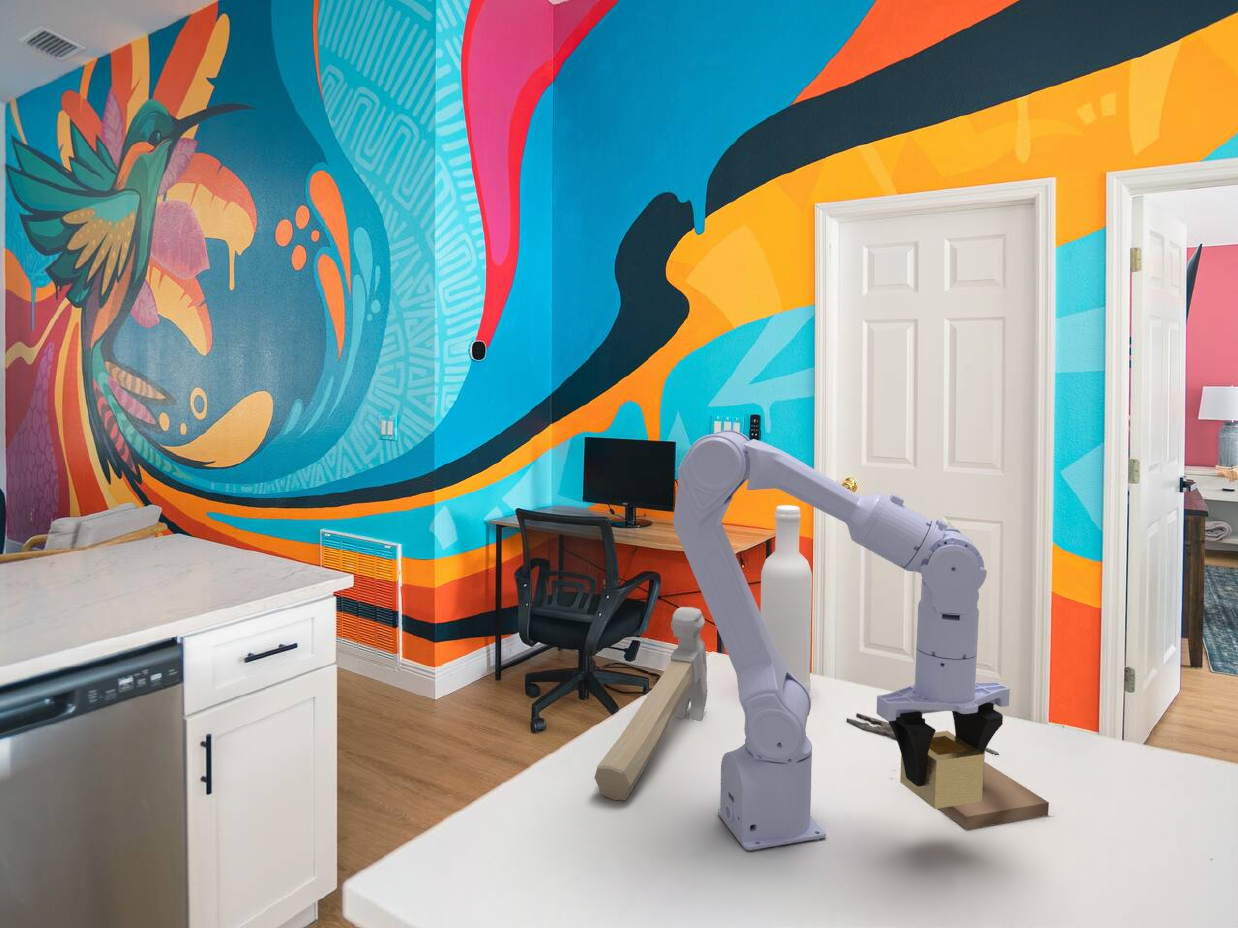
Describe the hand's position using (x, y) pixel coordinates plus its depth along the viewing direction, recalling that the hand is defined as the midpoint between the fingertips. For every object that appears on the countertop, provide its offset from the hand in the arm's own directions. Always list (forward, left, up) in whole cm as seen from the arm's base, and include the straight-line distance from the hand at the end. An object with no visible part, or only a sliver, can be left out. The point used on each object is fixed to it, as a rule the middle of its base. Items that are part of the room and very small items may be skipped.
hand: (940, 777), depth 82 cm
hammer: (-21, +30, -8) cm, 37 cm away
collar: (0, 0, -2) cm, 2 cm away
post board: (+11, +8, -8) cm, 16 cm away
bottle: (+4, +42, -8) cm, 43 cm away
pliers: (+13, +22, -9) cm, 27 cm away
